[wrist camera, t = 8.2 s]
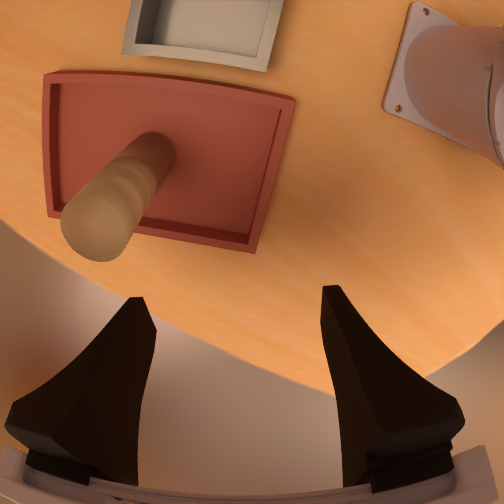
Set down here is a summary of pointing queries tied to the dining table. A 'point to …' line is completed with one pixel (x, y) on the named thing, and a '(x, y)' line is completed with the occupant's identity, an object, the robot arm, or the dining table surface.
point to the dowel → (117, 198)
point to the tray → (184, 140)
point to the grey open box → (204, 30)
